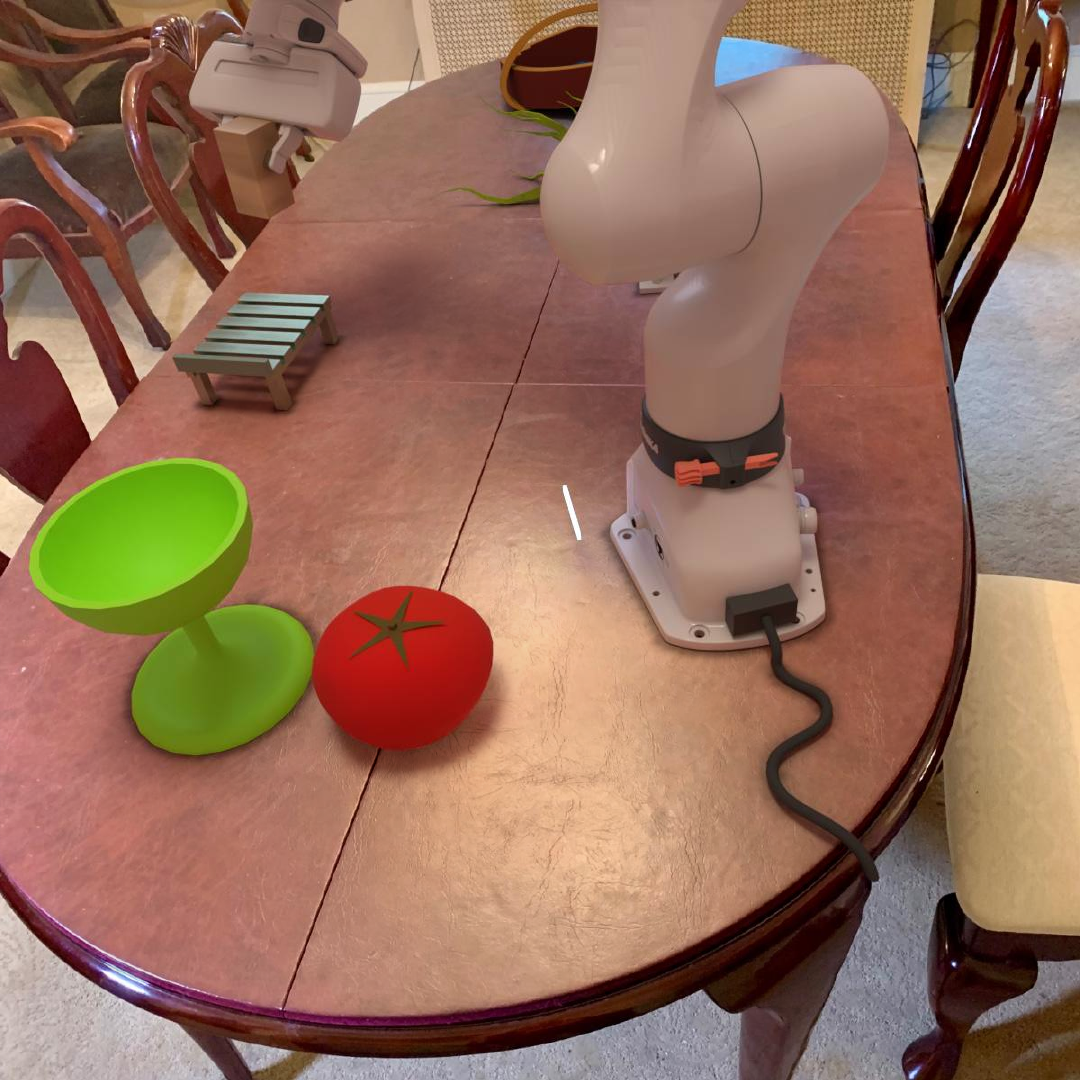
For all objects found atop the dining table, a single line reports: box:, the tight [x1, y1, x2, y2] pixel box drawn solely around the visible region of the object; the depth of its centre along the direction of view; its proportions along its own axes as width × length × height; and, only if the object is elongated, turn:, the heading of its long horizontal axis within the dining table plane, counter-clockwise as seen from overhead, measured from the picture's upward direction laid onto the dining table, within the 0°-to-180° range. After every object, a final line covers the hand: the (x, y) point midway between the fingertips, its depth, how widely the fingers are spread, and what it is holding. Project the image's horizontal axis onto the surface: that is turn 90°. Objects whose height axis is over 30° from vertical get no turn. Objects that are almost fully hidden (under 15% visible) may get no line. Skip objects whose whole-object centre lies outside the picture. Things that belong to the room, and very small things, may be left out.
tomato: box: [311, 585, 495, 752], centre depth 74 cm, size 14×13×10 cm
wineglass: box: [28, 457, 315, 756], centre depth 76 cm, size 16×16×18 cm
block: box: [212, 116, 296, 220], centre depth 101 cm, size 4×4×9 cm
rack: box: [171, 292, 340, 411], centre depth 113 cm, size 17×12×8 cm
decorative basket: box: [499, 2, 598, 111], centre depth 166 cm, size 34×29×15 cm
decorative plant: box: [430, 91, 583, 205], centre depth 138 cm, size 18×30×15 cm, turn 61°
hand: (251, 167), depth 100 cm, fingers closed on block, 4 cm apart
